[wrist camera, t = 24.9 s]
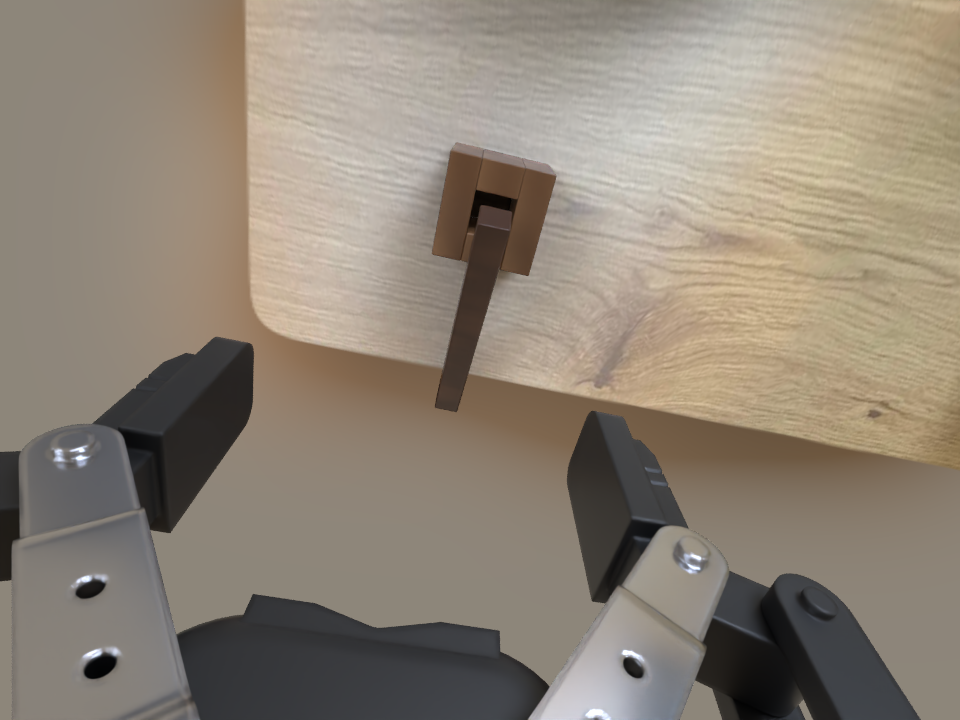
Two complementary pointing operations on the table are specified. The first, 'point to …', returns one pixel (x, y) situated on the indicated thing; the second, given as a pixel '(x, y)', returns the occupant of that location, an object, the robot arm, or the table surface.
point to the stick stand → (498, 177)
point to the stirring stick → (473, 302)
